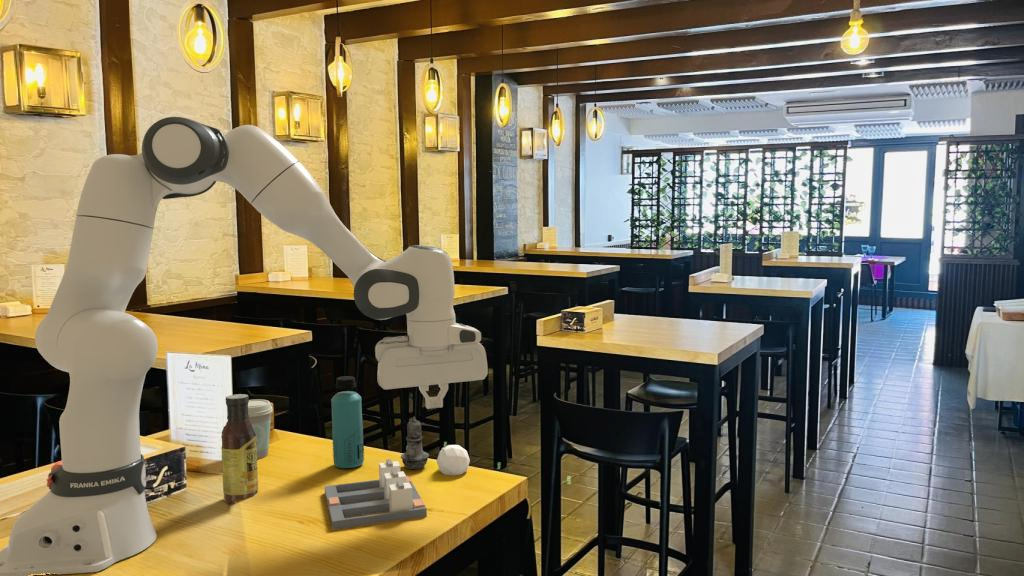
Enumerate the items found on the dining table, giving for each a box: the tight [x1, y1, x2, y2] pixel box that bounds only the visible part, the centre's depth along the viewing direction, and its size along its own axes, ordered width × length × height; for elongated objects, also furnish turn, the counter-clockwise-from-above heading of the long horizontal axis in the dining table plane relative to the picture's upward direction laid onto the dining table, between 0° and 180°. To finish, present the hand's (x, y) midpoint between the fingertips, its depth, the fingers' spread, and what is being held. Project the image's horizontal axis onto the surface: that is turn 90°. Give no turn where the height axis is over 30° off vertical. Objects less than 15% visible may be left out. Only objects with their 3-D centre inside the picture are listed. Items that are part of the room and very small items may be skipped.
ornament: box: [436, 444, 471, 476], centre depth 148 cm, size 6×7×7 cm
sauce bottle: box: [220, 393, 259, 505], centre depth 136 cm, size 6×6×20 cm
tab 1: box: [378, 458, 401, 488], centre depth 138 cm, size 4×3×6 cm
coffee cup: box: [248, 398, 274, 460], centre depth 161 cm, size 8×8×12 cm
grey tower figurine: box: [400, 416, 430, 470], centre depth 150 cm, size 6×6×12 cm
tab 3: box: [389, 480, 413, 512], centre depth 126 cm, size 4×3×6 cm
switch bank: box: [324, 475, 428, 531], centre depth 131 cm, size 16×17×3 cm
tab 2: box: [384, 469, 407, 500], centre depth 132 cm, size 4×3×6 cm
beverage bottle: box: [330, 375, 365, 469], centre depth 151 cm, size 6×7×20 cm
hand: (434, 407), depth 133 cm, fingers closed
